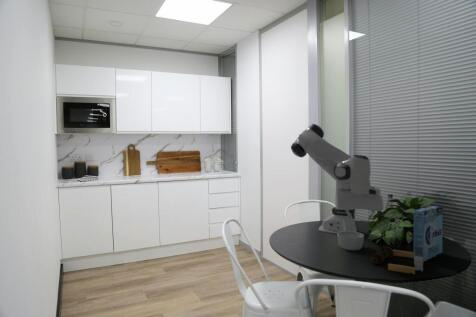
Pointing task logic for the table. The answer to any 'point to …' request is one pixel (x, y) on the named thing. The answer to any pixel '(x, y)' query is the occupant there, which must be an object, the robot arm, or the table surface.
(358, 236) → the ramekin
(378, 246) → the table surface
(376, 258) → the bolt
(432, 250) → the light blue carton box
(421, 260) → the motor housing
